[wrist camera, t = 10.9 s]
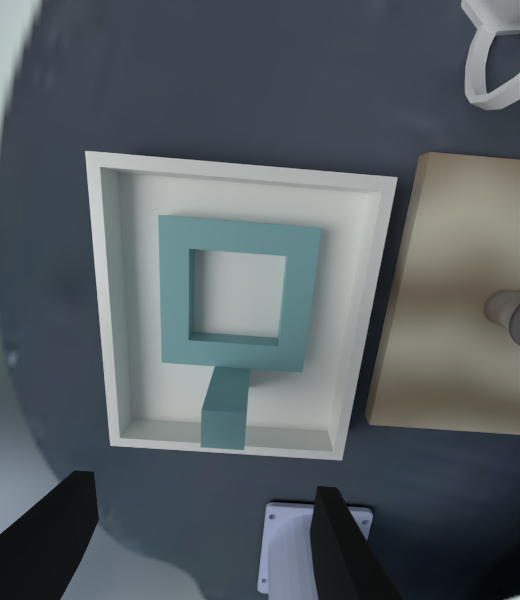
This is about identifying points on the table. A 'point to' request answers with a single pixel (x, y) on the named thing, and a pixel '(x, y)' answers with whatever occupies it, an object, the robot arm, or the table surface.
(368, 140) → the table surface
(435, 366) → the board
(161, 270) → the teal frame with handle
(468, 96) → the cup
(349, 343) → the tray
